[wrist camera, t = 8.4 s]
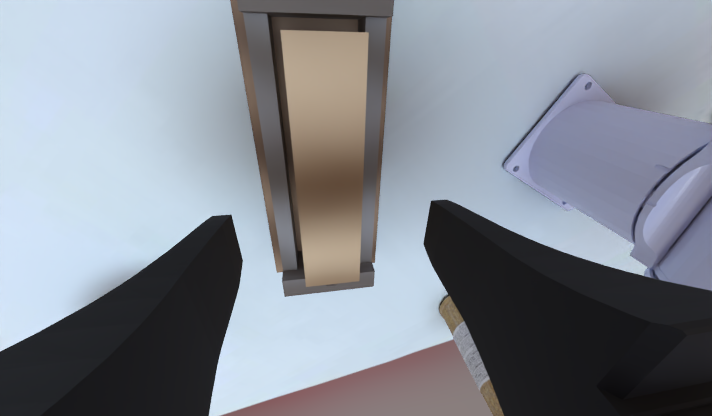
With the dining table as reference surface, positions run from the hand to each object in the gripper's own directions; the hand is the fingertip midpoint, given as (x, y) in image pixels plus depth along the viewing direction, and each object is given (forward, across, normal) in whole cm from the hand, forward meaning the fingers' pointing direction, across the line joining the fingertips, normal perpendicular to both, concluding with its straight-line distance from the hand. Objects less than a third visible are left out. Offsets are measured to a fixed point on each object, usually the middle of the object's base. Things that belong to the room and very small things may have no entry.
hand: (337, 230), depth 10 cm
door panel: (+9, 0, 0) cm, 9 cm away
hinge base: (+10, 0, 0) cm, 10 cm away
